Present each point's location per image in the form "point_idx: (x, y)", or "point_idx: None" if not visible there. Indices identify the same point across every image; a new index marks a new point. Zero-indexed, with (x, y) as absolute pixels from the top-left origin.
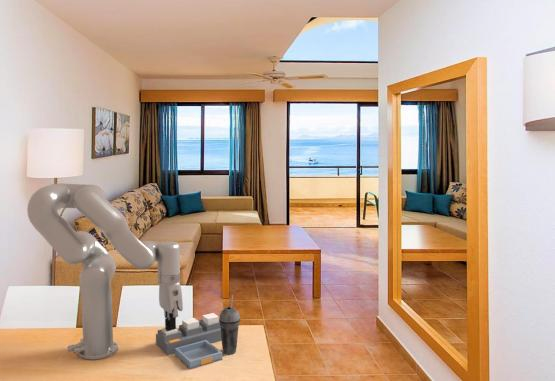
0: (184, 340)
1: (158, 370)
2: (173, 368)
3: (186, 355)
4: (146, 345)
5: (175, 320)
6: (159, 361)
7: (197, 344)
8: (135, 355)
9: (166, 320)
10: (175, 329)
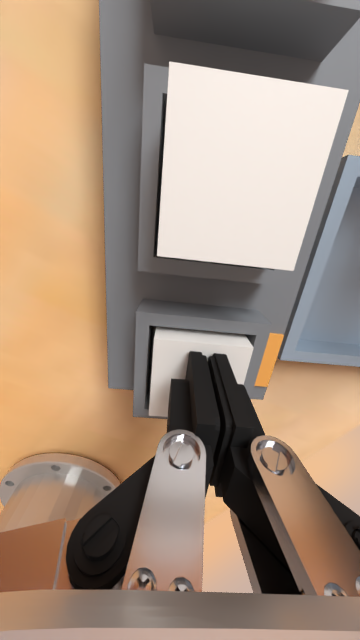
0: (289, 308)
1: (309, 425)
2: (342, 390)
3: (323, 318)
4: (105, 381)
5: (245, 405)
6: (260, 400)
7: (329, 236)
8: (162, 434)
9: (219, 488)
10: (228, 355)
